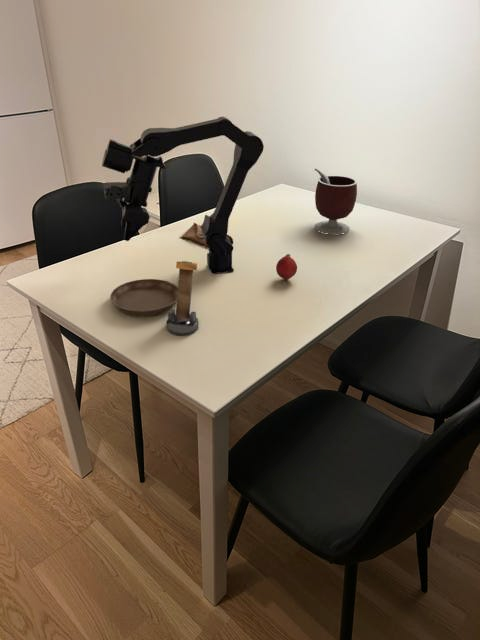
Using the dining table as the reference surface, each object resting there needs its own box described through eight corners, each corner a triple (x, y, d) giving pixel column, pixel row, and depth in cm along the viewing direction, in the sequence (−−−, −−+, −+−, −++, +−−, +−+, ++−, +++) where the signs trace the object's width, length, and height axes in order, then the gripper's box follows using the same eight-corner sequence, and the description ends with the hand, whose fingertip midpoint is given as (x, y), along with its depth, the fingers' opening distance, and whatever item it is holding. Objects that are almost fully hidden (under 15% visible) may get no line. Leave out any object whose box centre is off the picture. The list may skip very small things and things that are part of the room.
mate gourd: (357, 226, 177) (365, 170, 167) (342, 239, 167) (350, 179, 157) (318, 218, 184) (323, 163, 174) (301, 229, 174) (306, 172, 164)
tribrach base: (173, 317, 122) (172, 302, 120) (202, 321, 121) (202, 306, 119) (161, 333, 116) (160, 318, 114) (192, 337, 114) (192, 322, 112)
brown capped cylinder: (176, 314, 120) (180, 260, 118) (195, 317, 119) (199, 262, 117) (169, 317, 115) (173, 260, 113) (188, 320, 114) (193, 263, 112)
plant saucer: (142, 282, 139) (141, 272, 137) (194, 298, 131) (193, 288, 129) (96, 309, 125) (95, 298, 124) (151, 328, 118) (150, 318, 116)
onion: (282, 286, 137) (284, 259, 133) (271, 277, 141) (273, 251, 137) (299, 282, 139) (302, 255, 135) (288, 273, 144) (290, 248, 140)
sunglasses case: (177, 237, 166) (183, 218, 165) (190, 242, 172) (196, 223, 171) (216, 252, 156) (223, 232, 156) (229, 256, 162) (236, 237, 161)
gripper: (108, 159, 131) (93, 214, 138) (112, 179, 116) (95, 239, 123) (148, 173, 136) (132, 224, 142) (158, 193, 121) (139, 250, 127)
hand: (124, 234), depth 134 cm, fingers open, 9 cm apart
